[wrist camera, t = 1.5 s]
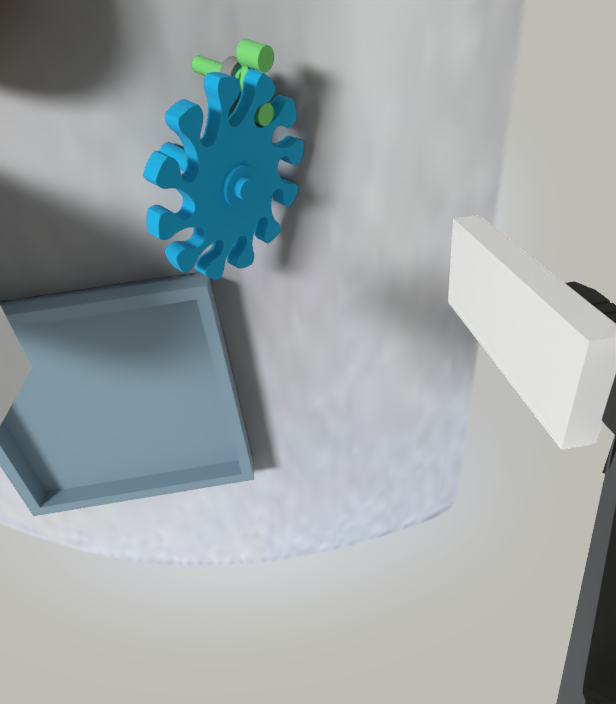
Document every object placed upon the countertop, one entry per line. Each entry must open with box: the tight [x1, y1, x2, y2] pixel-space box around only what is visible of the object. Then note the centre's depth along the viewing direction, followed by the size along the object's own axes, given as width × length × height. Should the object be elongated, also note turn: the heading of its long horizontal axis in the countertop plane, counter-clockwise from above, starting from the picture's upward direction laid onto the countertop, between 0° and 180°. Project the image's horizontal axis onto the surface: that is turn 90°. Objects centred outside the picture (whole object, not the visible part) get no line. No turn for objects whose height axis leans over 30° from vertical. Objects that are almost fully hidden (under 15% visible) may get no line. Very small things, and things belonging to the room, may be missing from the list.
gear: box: [143, 39, 304, 280], centre depth 25 cm, size 11×6×10 cm
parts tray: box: [0, 272, 254, 516], centre depth 35 cm, size 17×17×2 cm
